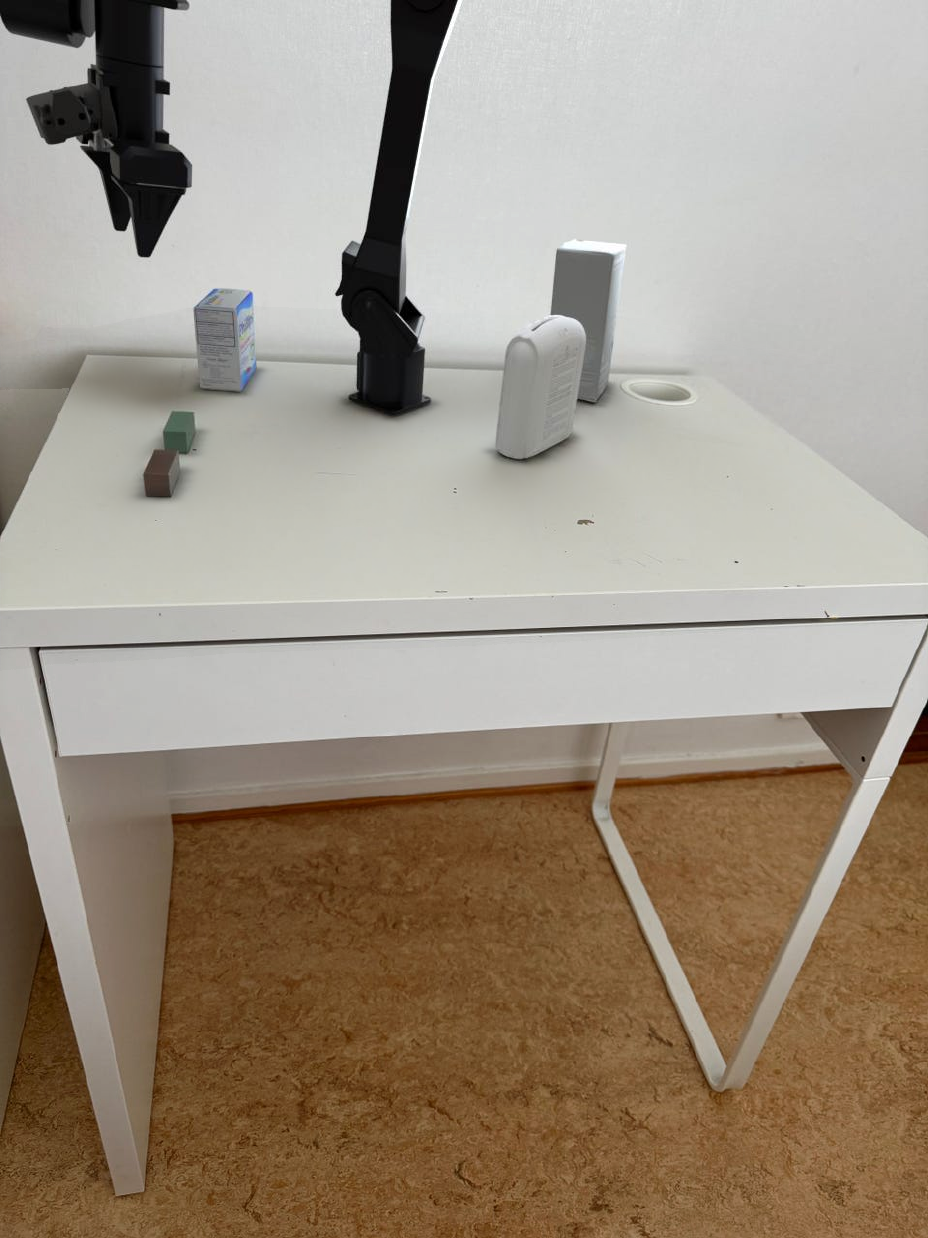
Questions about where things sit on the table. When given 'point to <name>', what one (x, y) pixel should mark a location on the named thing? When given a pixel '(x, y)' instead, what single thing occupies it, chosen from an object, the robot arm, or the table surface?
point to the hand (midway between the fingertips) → (131, 243)
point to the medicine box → (225, 339)
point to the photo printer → (540, 386)
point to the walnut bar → (161, 473)
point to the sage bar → (179, 431)
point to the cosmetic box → (590, 303)
